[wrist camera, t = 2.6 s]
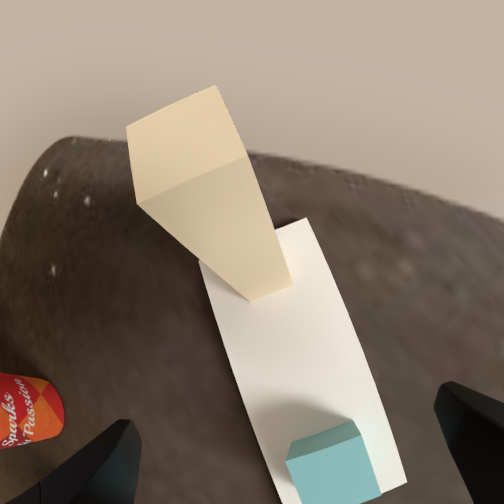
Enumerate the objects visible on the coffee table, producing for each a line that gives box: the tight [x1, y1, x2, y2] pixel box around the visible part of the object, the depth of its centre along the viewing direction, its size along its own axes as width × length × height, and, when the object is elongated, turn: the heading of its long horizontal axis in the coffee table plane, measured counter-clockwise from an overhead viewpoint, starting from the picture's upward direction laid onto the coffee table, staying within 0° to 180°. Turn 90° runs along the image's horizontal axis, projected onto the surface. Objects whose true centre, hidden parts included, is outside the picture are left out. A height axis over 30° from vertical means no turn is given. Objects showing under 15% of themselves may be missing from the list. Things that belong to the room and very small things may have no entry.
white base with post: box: [126, 85, 407, 504], centre depth 12 cm, size 20×8×15 cm, turn 20°
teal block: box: [285, 420, 381, 504], centre depth 15 cm, size 4×4×4 cm
